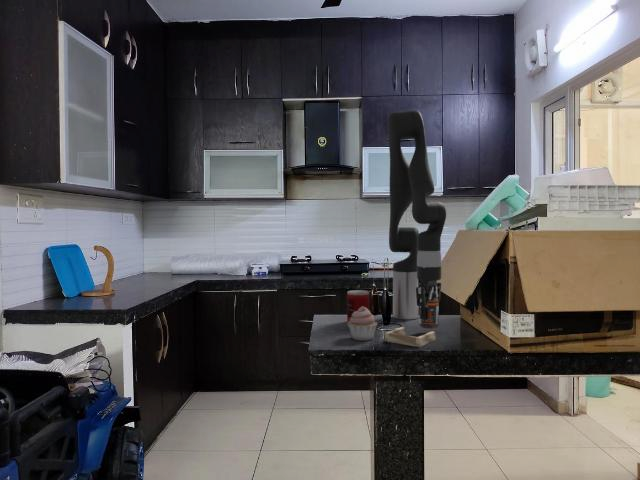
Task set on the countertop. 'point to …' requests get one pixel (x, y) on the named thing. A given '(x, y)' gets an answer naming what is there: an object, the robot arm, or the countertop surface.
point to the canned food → (356, 301)
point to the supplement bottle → (431, 314)
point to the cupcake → (362, 325)
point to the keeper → (408, 338)
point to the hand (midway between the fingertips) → (428, 317)
